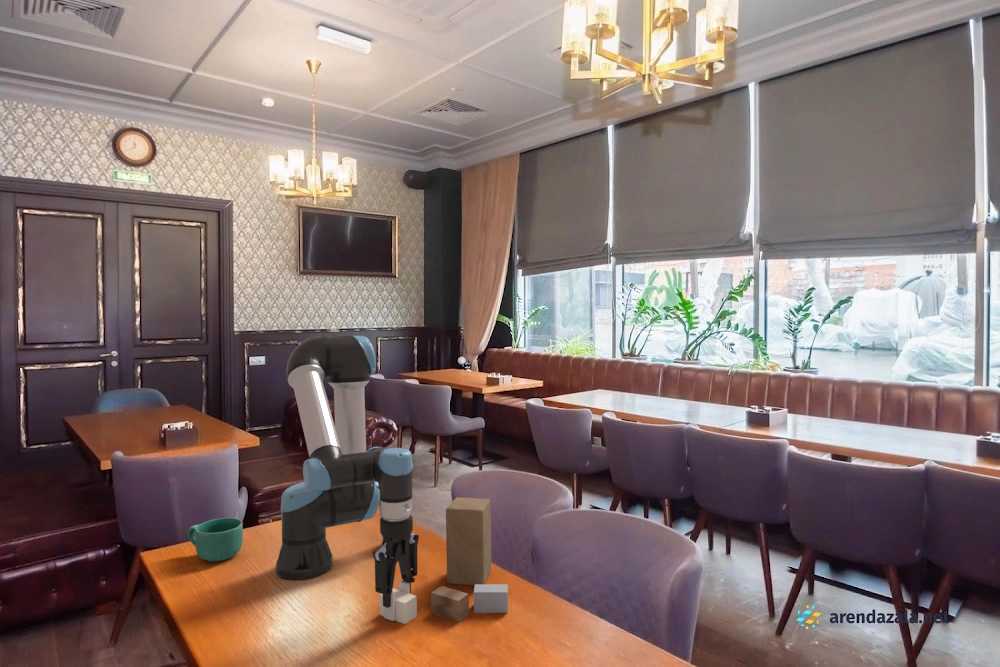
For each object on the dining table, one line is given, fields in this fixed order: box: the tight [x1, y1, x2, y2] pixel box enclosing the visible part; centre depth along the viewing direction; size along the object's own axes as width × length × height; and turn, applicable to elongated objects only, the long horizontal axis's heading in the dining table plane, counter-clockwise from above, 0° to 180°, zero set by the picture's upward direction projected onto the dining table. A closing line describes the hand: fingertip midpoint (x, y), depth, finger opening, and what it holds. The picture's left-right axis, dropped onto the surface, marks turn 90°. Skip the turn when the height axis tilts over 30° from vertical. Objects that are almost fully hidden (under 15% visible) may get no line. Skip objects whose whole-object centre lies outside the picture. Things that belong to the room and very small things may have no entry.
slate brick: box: [473, 583, 509, 614], centre depth 139 cm, size 8×4×5 cm, turn 88°
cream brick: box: [378, 587, 418, 625], centre depth 136 cm, size 8×4×5 cm, turn 56°
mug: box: [187, 517, 244, 563], centre depth 171 cm, size 17×13×10 cm
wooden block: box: [445, 496, 492, 587], centre depth 155 cm, size 10×10×20 cm
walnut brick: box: [430, 585, 470, 623], centre depth 137 cm, size 8×4×5 cm, turn 58°
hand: (397, 613), depth 136 cm, fingers open, 4 cm apart
